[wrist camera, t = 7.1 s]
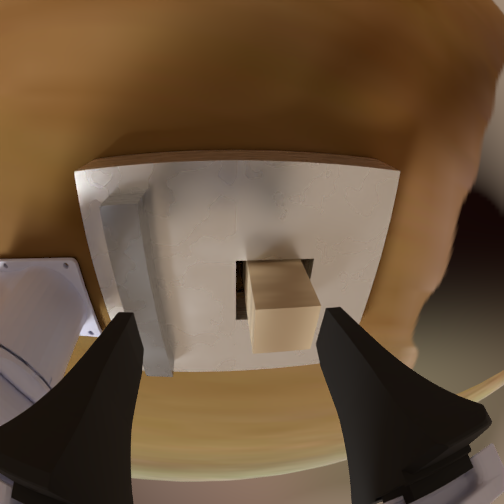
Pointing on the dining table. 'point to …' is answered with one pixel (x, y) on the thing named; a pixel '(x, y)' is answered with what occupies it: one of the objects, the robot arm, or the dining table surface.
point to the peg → (279, 305)
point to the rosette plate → (229, 243)
